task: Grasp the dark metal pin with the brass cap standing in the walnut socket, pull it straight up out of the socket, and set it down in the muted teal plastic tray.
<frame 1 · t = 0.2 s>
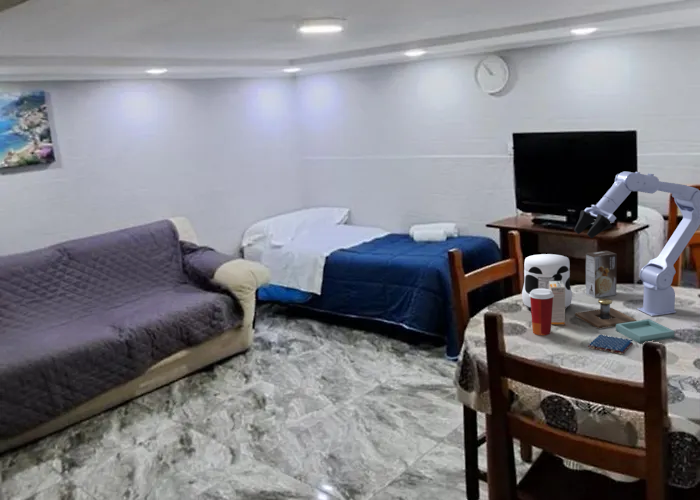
hand: (582, 234, 212), 30 cm above the table, tool tilted 45°, fingers open, 7 cm apart
supplement box: (556, 321, 222), on the table
teal tray: (644, 334, 205), on the table
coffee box: (600, 295, 246), on the table
woven mat: (610, 348, 198), on the table
milk container: (546, 307, 236), on the table
gunmetal pin: (605, 309, 219), in the walnut socket
paper cup: (541, 333, 212), on the table
walnut socket: (604, 319, 220), on the table
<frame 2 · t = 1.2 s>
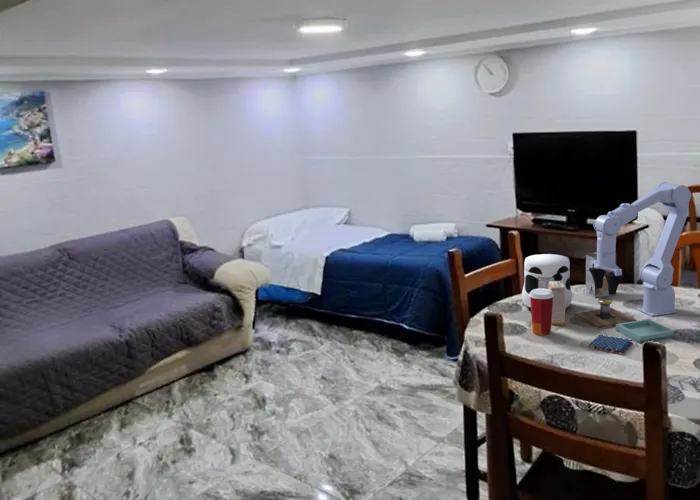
hand: (605, 291, 218), 10 cm above the table, tool pointing down, fingers open, 7 cm apart
nothing on the table moved.
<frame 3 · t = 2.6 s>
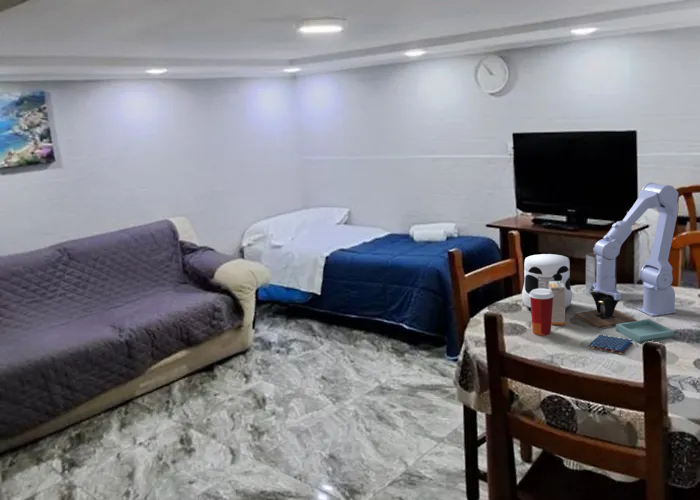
hand: (604, 314, 220), 2 cm above the table, tool pointing down, fingers closed on gunmetal pin, 4 cm apart
gunmetal pin: (605, 309, 219), in the walnut socket, touching gripper
everything else where it was.
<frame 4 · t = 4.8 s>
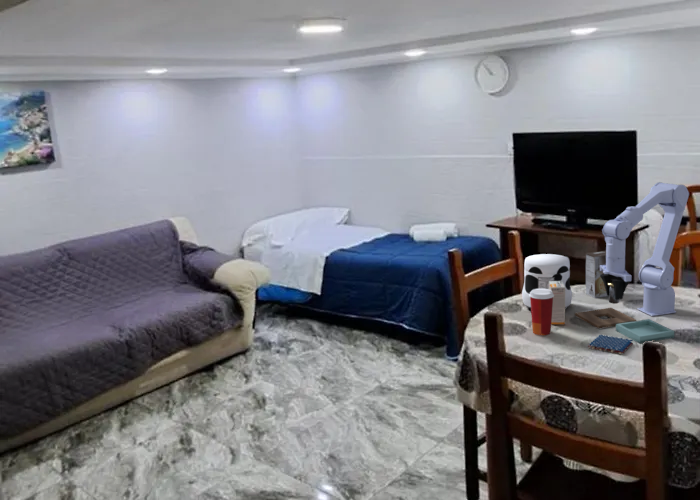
hand: (614, 297, 214), 9 cm above the table, tool pointing down, fingers closed on gunmetal pin, 4 cm apart
gunmetal pin: (614, 292, 214), point 10 cm above the table, touching gripper
everything else where it was.
when the fingers open (4 cm above the table, at t = 7.0 s): gunmetal pin stays where it is, resting on teal tray.
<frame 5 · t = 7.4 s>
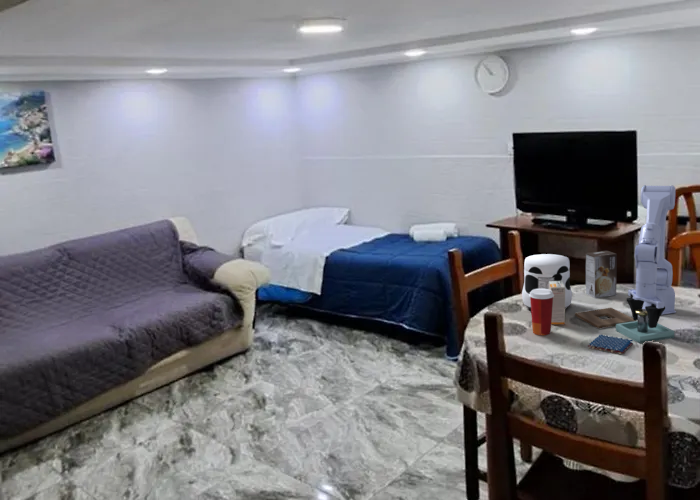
hand: (644, 323, 204), 4 cm above the table, tool pointing down, fingers open, 7 cm apart
gunmetal pin: (642, 321, 205), in the teal tray, point 4 cm above the table
everything else where it was.
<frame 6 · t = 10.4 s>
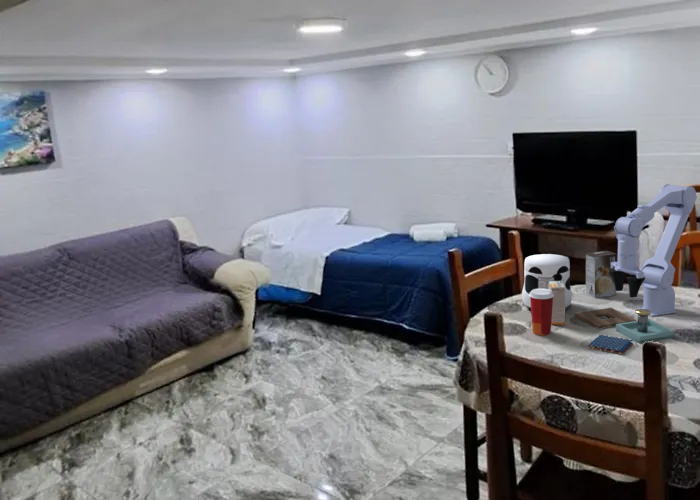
hand: (626, 293, 215), 9 cm above the table, tool pointing down, fingers open, 7 cm apart
nothing on the table moved.
at the end: gunmetal pin inside the target area on the teal tray (0.8 cm from its centre), point 4.1 cm above the teal tray's base; gunmetal pin moved 16.0 cm from its start; the gripper is holding nothing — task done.
